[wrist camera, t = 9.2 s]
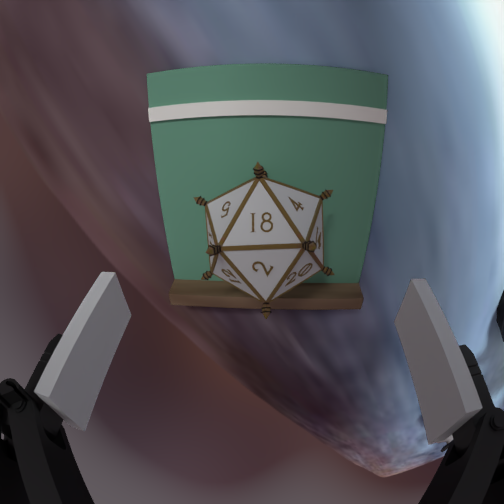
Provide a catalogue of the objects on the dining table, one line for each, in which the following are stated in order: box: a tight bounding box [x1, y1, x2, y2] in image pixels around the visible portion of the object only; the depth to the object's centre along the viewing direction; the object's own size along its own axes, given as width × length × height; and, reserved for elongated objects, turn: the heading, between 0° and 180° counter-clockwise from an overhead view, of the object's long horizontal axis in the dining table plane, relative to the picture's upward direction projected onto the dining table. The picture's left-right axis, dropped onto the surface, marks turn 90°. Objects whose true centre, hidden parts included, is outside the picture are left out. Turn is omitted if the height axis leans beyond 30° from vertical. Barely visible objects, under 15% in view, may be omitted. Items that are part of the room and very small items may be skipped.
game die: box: [193, 162, 334, 319], centre depth 18 cm, size 9×8×10 cm
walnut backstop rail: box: [169, 279, 364, 310], centre depth 25 cm, size 1×16×2 cm, turn 91°
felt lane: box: [147, 64, 388, 283], centre depth 21 cm, size 17×16×1 cm
